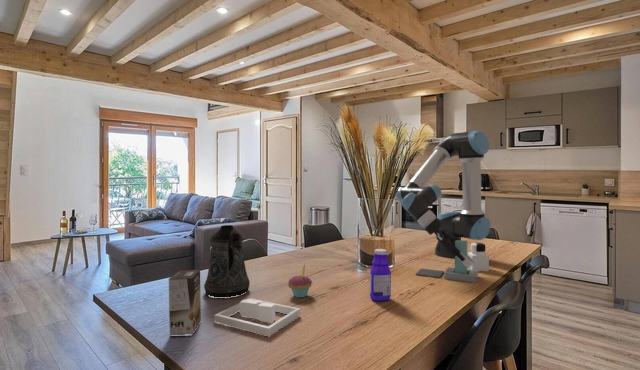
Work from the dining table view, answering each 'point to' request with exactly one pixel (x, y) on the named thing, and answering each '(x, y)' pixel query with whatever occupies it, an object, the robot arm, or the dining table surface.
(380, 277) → the bottle
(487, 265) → the medicine bottle
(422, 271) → the mat
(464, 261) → the robot arm
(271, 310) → the napkin holder
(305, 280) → the cupcake
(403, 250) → the dining table surface
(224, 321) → the holder frame
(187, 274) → the coffee box
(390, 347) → the dining table surface
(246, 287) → the beer stein
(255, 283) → the dining table surface
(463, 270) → the plug
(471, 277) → the socket block
